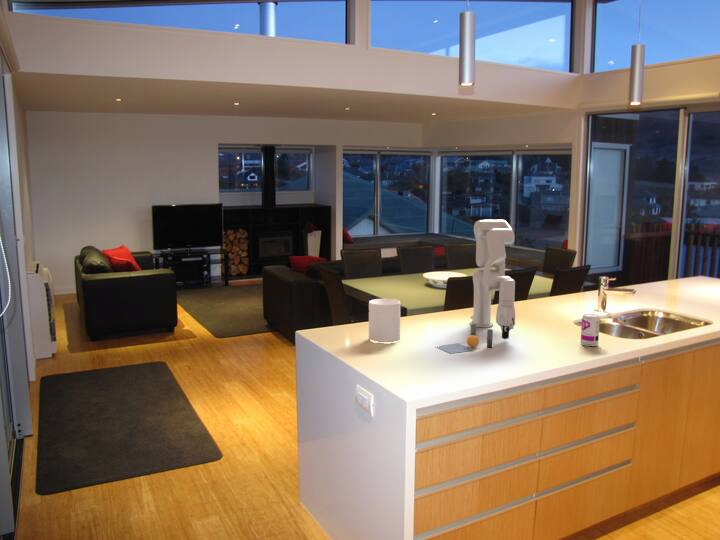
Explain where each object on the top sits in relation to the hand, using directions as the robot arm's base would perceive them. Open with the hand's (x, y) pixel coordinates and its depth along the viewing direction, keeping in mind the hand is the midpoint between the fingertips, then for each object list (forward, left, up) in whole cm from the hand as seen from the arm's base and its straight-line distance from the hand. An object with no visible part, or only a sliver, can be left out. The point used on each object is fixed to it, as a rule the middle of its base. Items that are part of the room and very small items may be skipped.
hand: (505, 338), depth 319 cm
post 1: (-6, -15, -2) cm, 16 cm away
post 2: (+7, -15, -2) cm, 16 cm away
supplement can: (+24, +33, -2) cm, 41 cm away
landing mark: (0, -31, -2) cm, 31 cm away
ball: (+2, -22, +2) cm, 22 cm away
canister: (-29, -54, -2) cm, 61 cm away
